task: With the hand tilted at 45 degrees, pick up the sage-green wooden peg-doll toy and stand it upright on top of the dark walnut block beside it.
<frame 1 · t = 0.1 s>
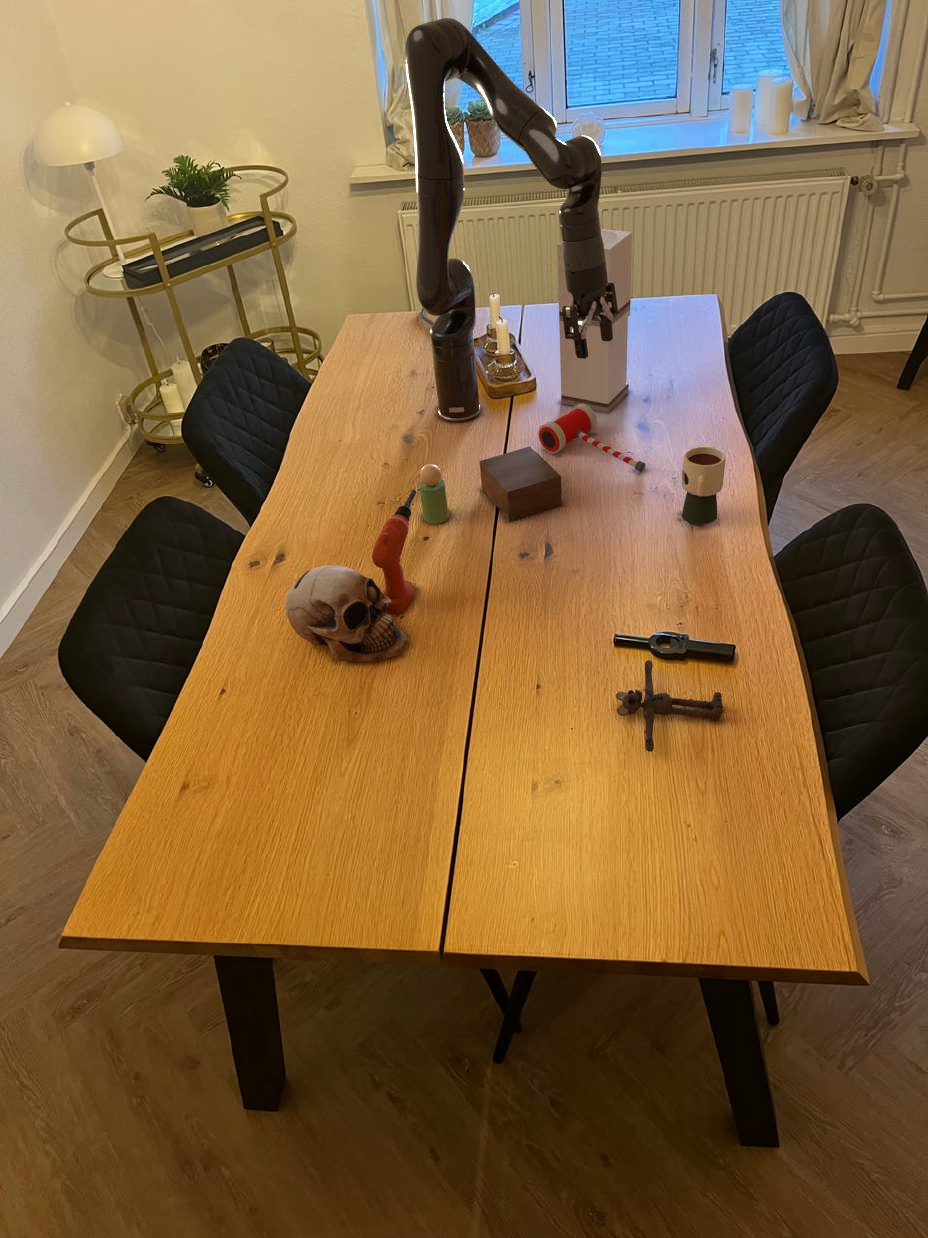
hand: (595, 349, 175), 22 cm above the table, tool pointing down, fingers open, 8 cm apart
bear figurine: (667, 713, 132), on the table
character mug: (699, 519, 168), on the table
coin bank: (351, 637, 151), on the table
beige tall boxy piece: (594, 398, 208), on the table
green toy: (436, 517, 176), on the table
toy hammer: (590, 450, 190), on the table
toy drill: (407, 584, 161), on the table
walnut block: (521, 497, 179), on the table
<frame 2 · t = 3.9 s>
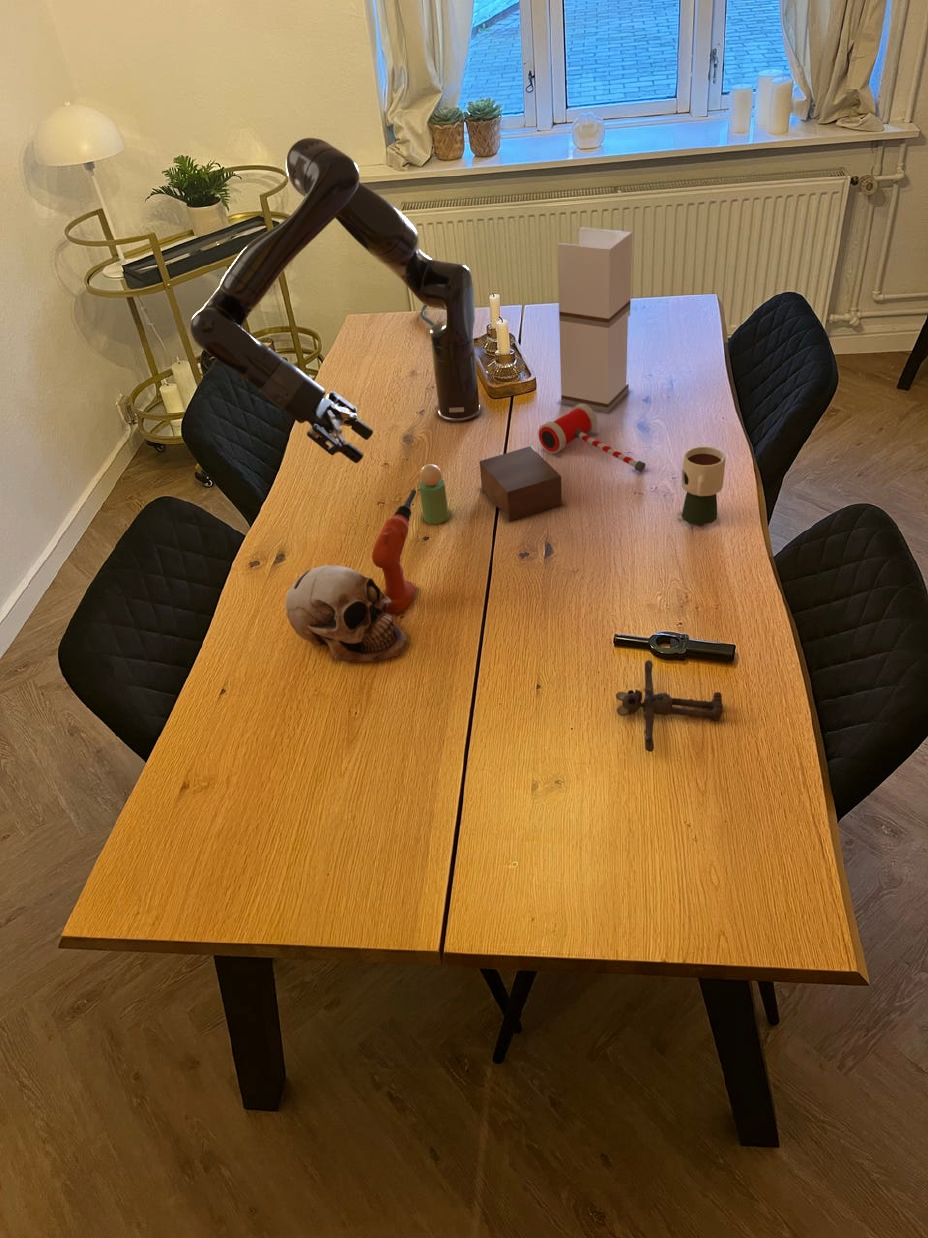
hand: (365, 447, 168), 15 cm above the table, tool tilted 45°, fingers open, 8 cm apart
nothing on the table moved.
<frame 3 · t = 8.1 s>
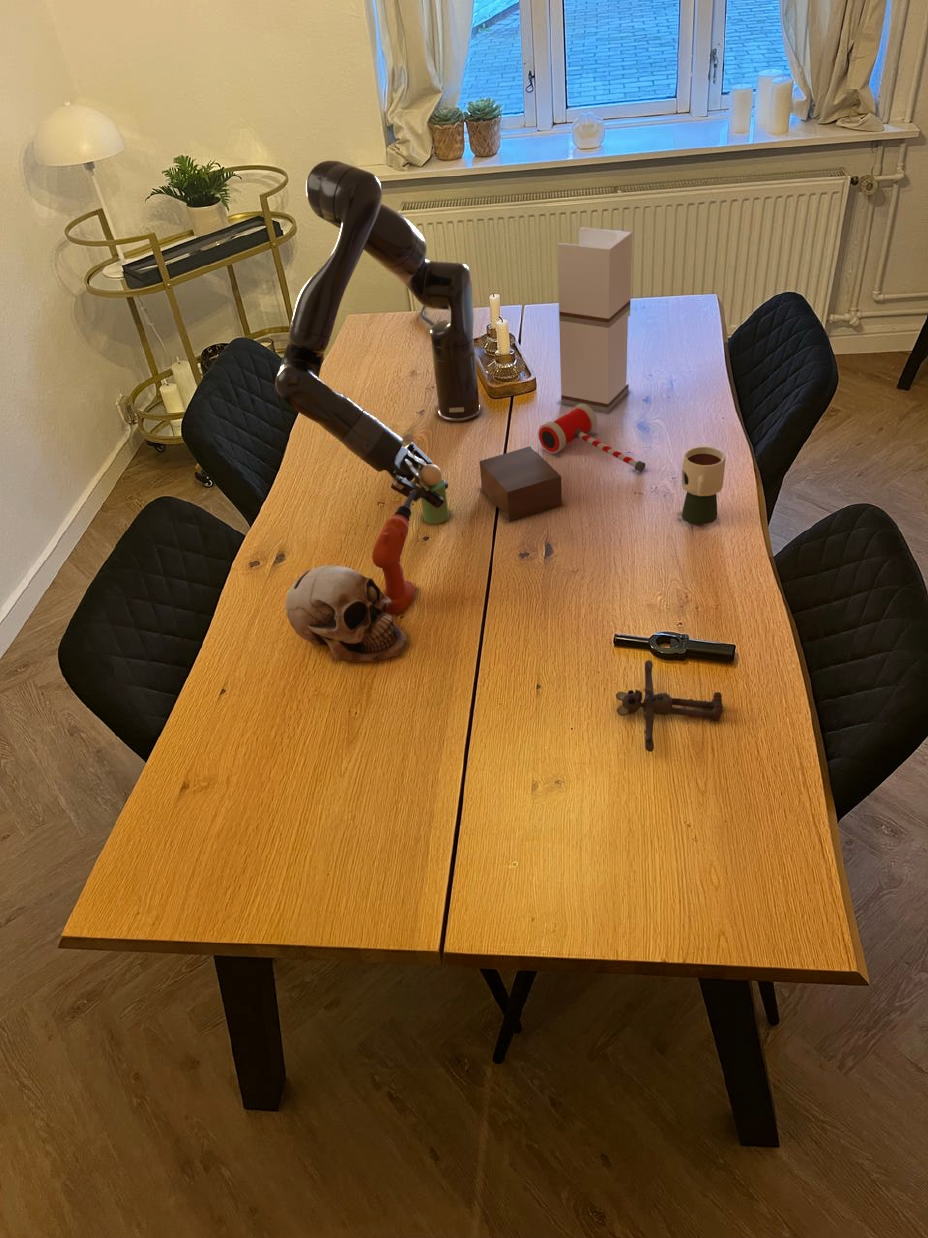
hand: (443, 496, 173), 5 cm above the table, tool tilted 45°, fingers closed on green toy, 4 cm apart
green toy: (436, 516, 176), on the table, touching gripper
everything else where it was.
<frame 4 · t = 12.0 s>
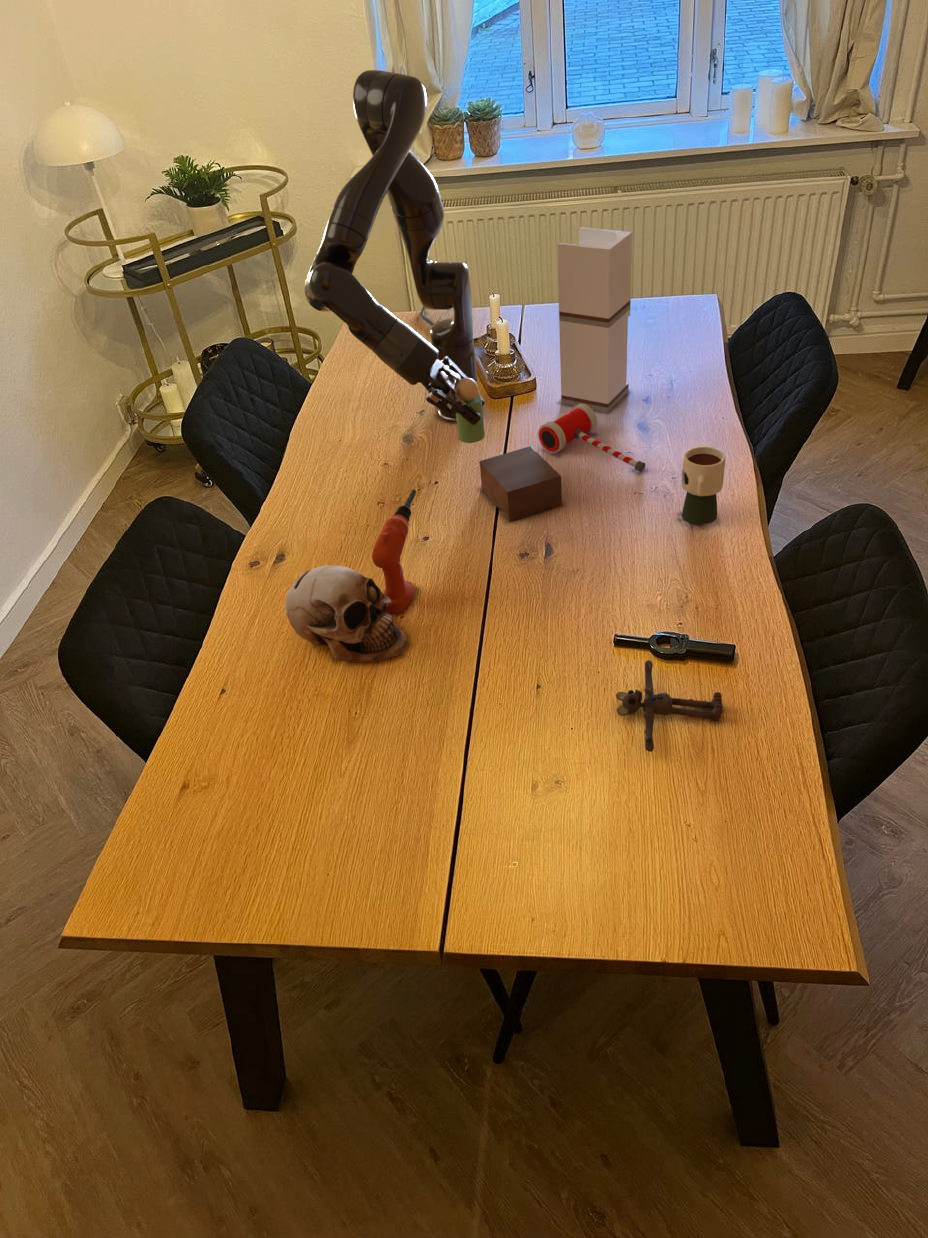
hand: (479, 413, 165), 20 cm above the table, tool tilted 45°, fingers closed on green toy, 4 cm apart
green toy: (471, 436, 168), point 15 cm above the table, touching gripper
everything else where it was.
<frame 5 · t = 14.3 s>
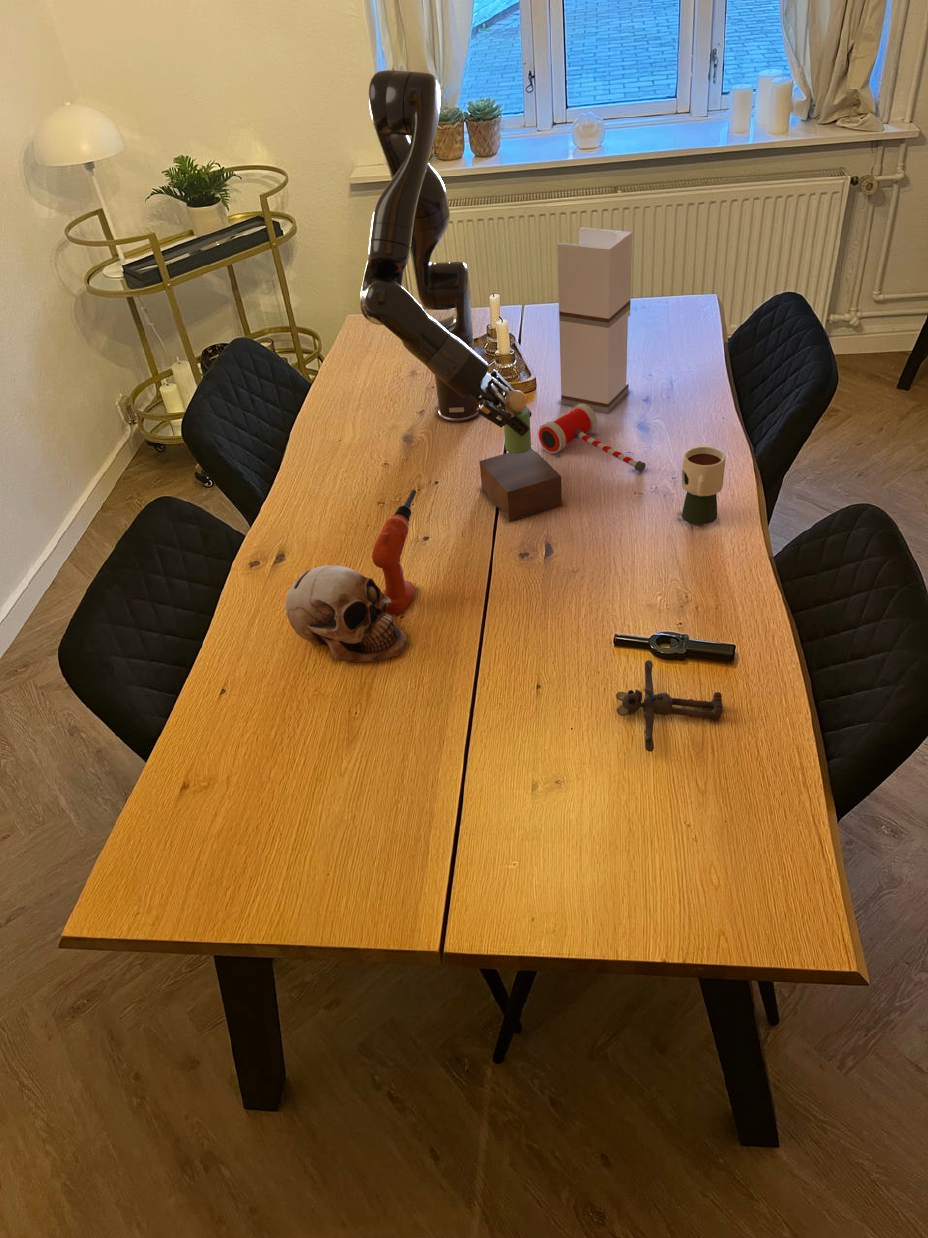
hand: (527, 424, 168), 16 cm above the table, tool tilted 45°, fingers closed on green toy, 4 cm apart
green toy: (518, 447, 172), point 11 cm above the table, touching gripper
everything else where it was.
when the fingers open (11 cm above the table, at t = 16.0 s): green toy stays where it is, resting on walnut block.
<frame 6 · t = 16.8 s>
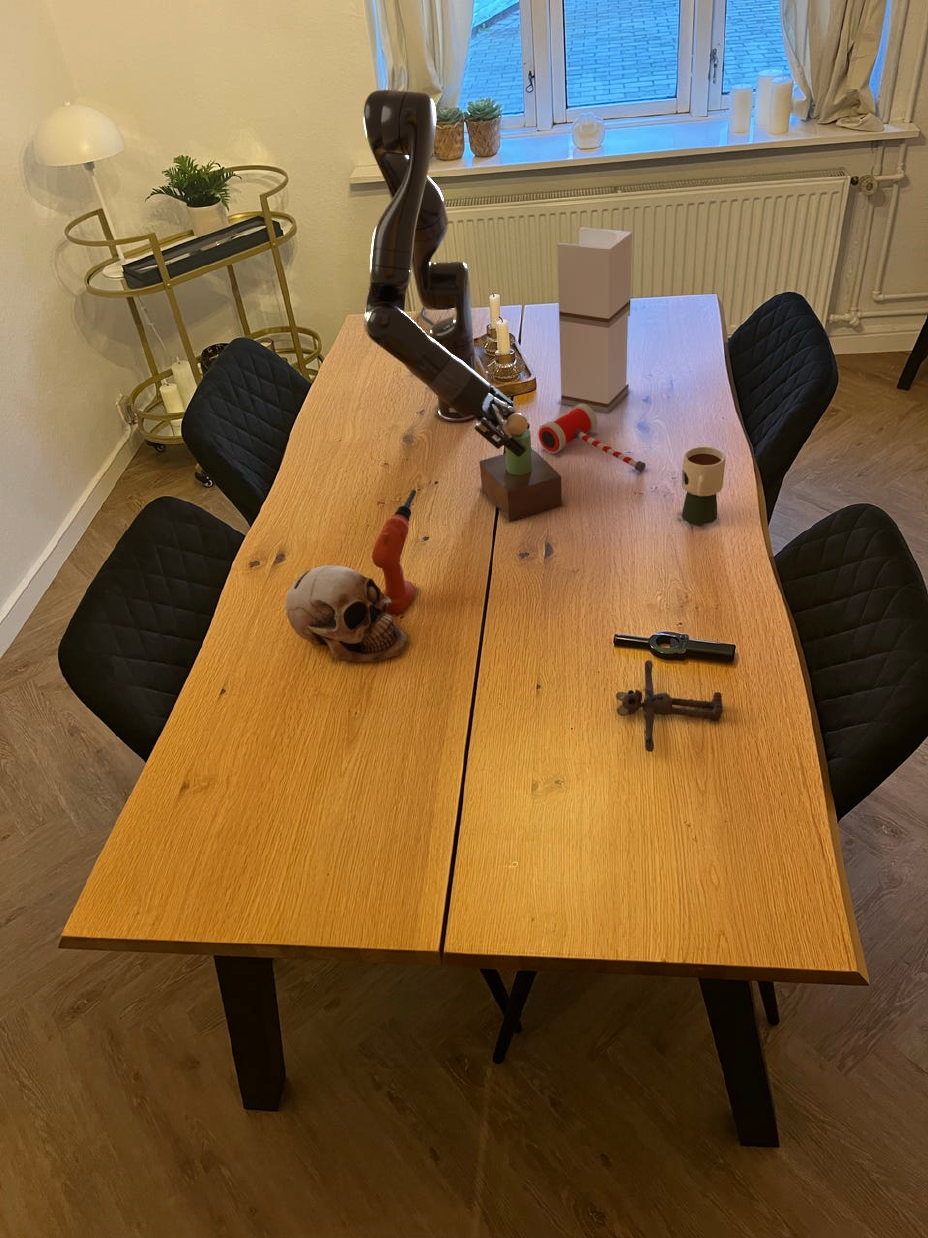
hand: (524, 441, 171), 12 cm above the table, tool tilted 45°, fingers open, 8 cm apart
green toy: (519, 468, 175), point 6 cm above the table, touching walnut block
everything else where it was.
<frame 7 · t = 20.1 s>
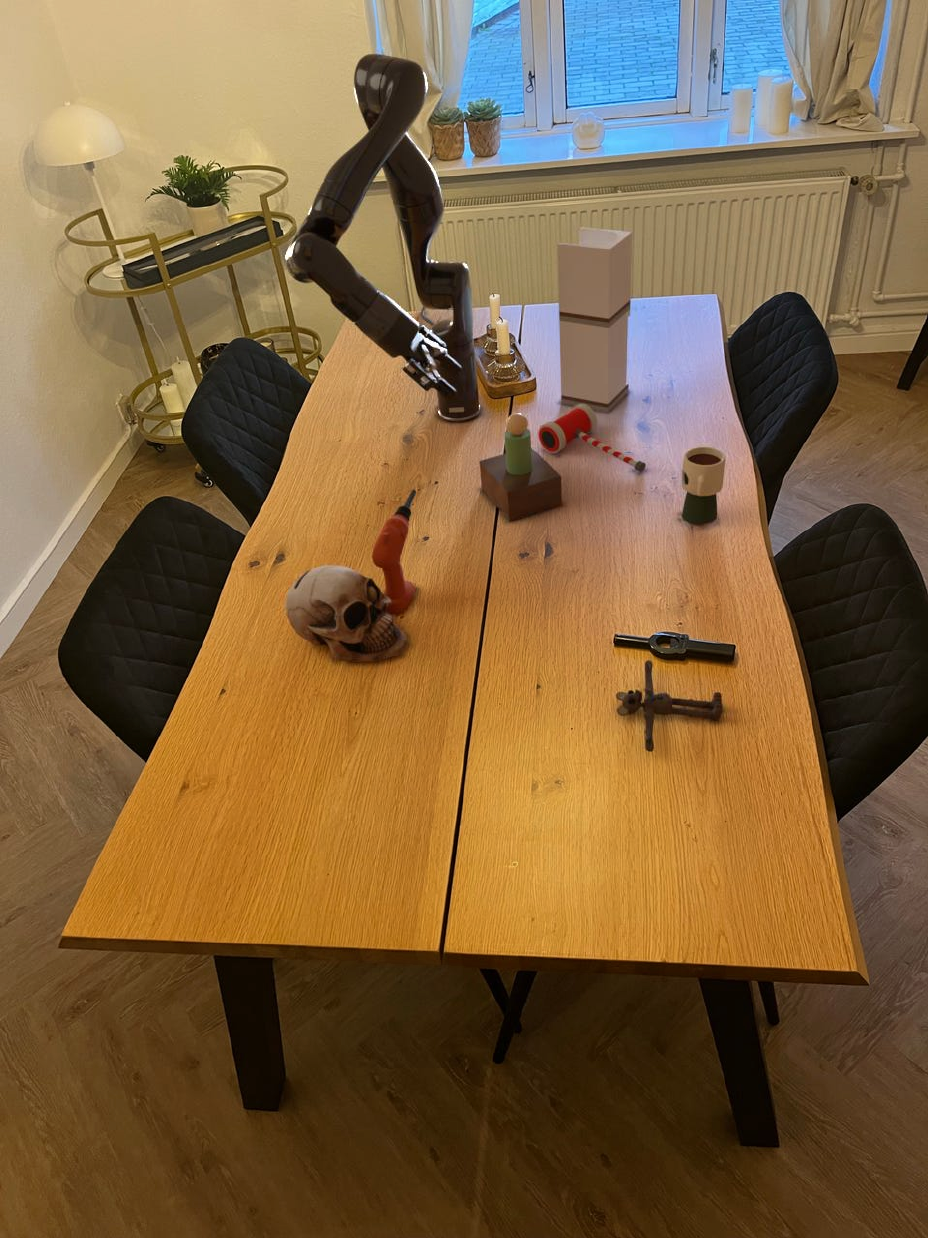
hand: (455, 383, 167), 23 cm above the table, tool tilted 45°, fingers open, 8 cm apart
nothing on the table moved.
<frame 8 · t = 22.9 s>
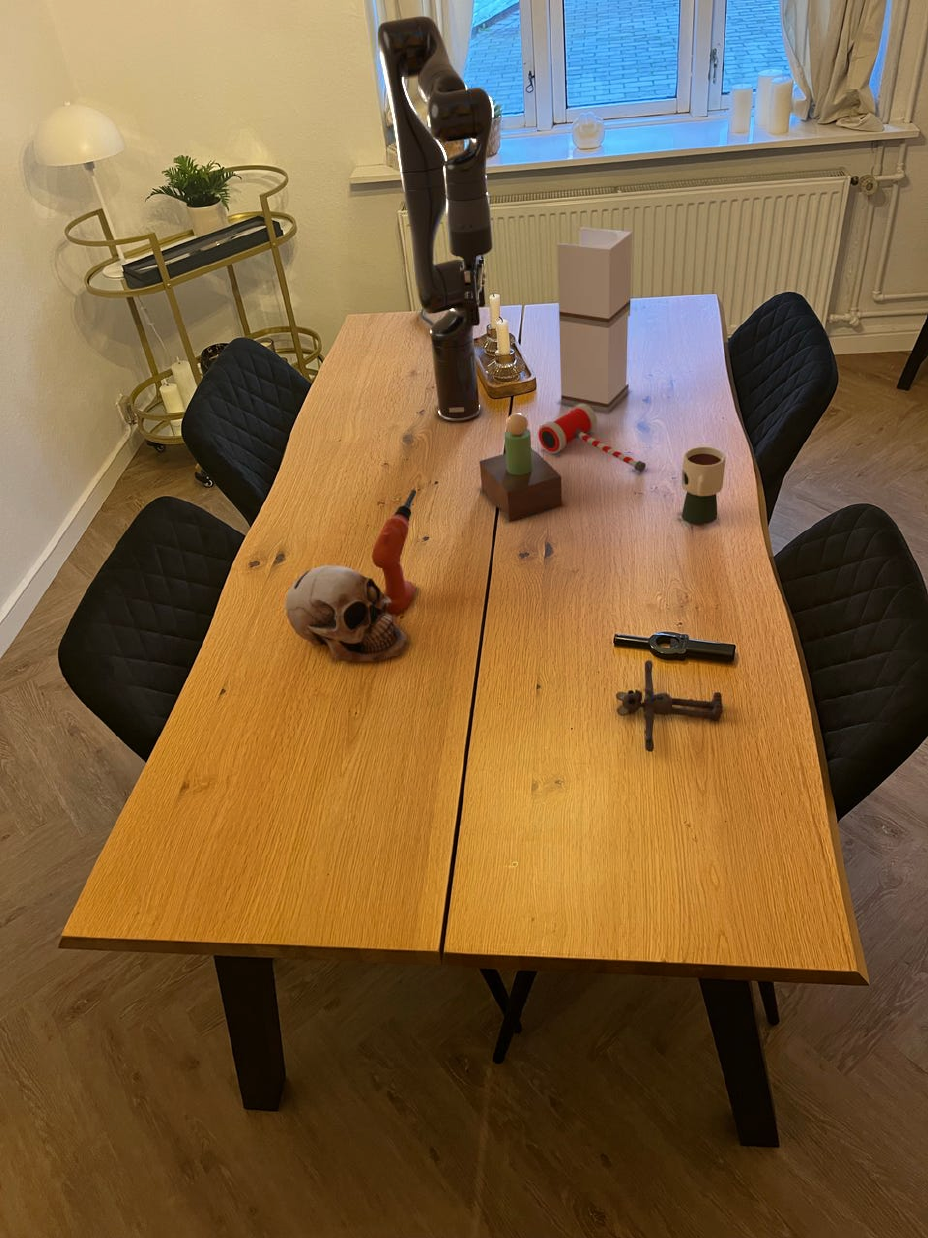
hand: (476, 315, 168), 32 cm above the table, tool pointing down, fingers open, 8 cm apart
nothing on the table moved.
at the end: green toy inside the target area on the walnut block (0.1 cm from its centre), point 6.5 cm above the walnut block's base; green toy tilted 0°; the gripper is holding nothing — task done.
